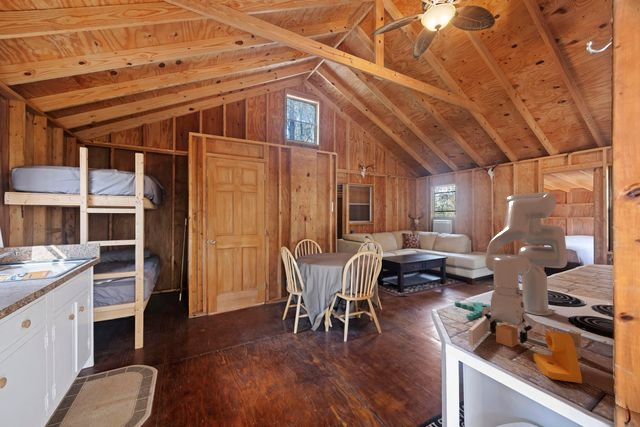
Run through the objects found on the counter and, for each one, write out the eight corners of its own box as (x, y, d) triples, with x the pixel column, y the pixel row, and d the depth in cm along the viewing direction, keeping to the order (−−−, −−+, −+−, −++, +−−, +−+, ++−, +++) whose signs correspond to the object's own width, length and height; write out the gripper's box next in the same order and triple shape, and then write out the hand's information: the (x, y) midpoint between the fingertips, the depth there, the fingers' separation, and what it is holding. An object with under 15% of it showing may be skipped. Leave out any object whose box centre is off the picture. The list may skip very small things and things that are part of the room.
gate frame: (485, 325, 111) (485, 306, 111) (582, 356, 85) (581, 332, 85) (482, 327, 109) (481, 308, 109) (579, 359, 84) (578, 334, 84)
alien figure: (468, 320, 117) (518, 323, 113) (468, 316, 117) (517, 318, 113) (454, 305, 137) (496, 307, 133) (454, 301, 137) (496, 303, 133)
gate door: (492, 326, 107) (492, 312, 107) (472, 346, 91) (472, 330, 91) (486, 324, 108) (486, 311, 108) (466, 344, 93) (465, 328, 93)
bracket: (532, 361, 84) (531, 324, 84) (560, 364, 81) (559, 326, 81) (549, 381, 73) (547, 339, 74) (582, 386, 71) (580, 342, 71)
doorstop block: (502, 338, 99) (502, 322, 99) (518, 343, 95) (517, 327, 95) (496, 342, 97) (495, 326, 97) (511, 347, 92) (511, 330, 92)
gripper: (539, 294, 90) (541, 343, 90) (486, 284, 105) (487, 326, 105) (530, 298, 86) (532, 350, 86) (476, 287, 101) (478, 331, 101)
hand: (508, 337), depth 95 cm, fingers open, 9 cm apart
